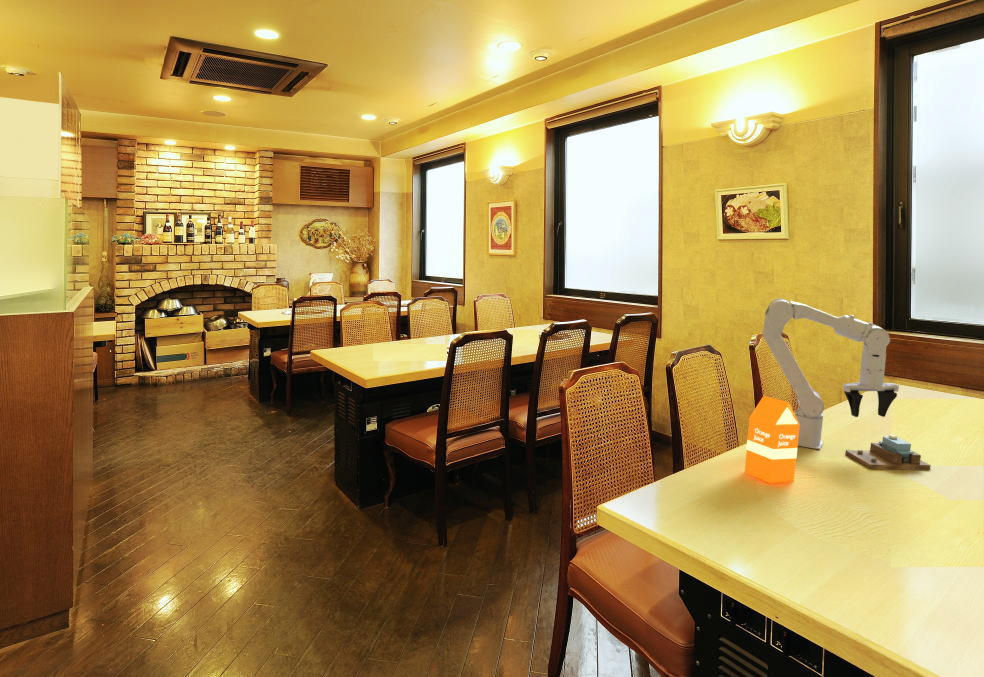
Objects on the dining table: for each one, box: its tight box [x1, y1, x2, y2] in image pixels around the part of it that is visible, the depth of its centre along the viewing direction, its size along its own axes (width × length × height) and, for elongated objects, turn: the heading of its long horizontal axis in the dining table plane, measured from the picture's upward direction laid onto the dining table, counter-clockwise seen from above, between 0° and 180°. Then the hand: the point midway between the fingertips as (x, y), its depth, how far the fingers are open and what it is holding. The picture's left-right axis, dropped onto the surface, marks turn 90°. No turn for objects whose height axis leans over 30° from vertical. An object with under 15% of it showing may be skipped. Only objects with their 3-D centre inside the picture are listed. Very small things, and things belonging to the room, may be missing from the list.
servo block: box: [878, 434, 915, 462], centre depth 163 cm, size 9×4×6 cm, turn 0°
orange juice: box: [744, 395, 800, 484], centre depth 151 cm, size 8×9×20 cm
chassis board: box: [845, 442, 932, 470], centre depth 163 cm, size 16×11×4 cm
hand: (868, 415), depth 170 cm, fingers open, 7 cm apart
